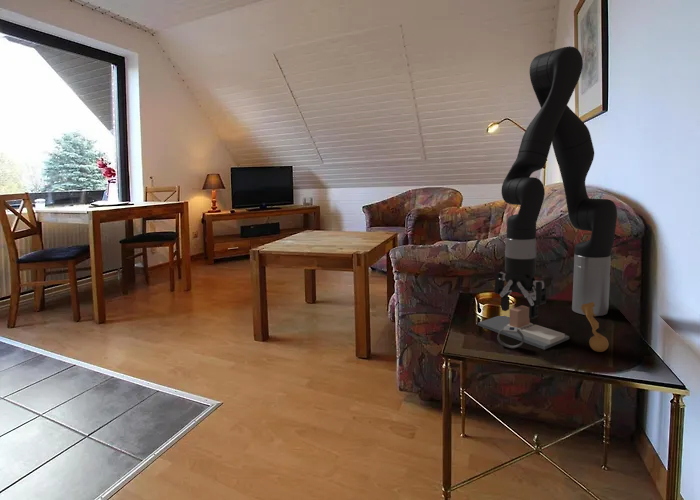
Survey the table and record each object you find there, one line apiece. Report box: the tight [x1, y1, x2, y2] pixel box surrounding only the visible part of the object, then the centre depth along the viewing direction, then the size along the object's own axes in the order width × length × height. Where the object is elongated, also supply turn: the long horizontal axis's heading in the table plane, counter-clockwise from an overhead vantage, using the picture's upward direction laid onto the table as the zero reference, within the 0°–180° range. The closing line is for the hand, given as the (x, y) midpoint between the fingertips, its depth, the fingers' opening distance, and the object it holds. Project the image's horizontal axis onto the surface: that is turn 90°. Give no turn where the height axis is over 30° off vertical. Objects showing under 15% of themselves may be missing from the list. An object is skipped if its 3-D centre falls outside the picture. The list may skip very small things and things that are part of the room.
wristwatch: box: [496, 326, 525, 349], centre depth 107 cm, size 6×3×5 cm, turn 62°
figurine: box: [581, 302, 610, 353], centre depth 102 cm, size 8×6×12 cm
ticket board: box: [477, 315, 570, 351], centre depth 116 cm, size 10×21×2 cm, turn 31°
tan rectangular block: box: [506, 304, 534, 333], centre depth 116 cm, size 6×4×6 cm, turn 121°
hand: (518, 314), depth 115 cm, fingers open, 8 cm apart
